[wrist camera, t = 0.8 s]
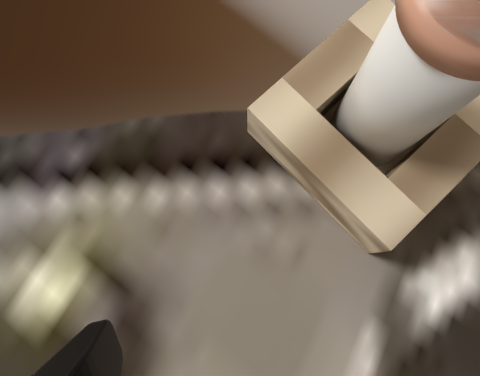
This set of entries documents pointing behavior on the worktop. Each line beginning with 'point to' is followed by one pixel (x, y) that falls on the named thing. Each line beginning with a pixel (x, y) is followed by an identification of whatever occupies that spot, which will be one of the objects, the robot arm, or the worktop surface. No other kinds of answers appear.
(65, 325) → the worktop surface
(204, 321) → the worktop surface
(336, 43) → the beige square frame
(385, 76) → the white pink cylinder
